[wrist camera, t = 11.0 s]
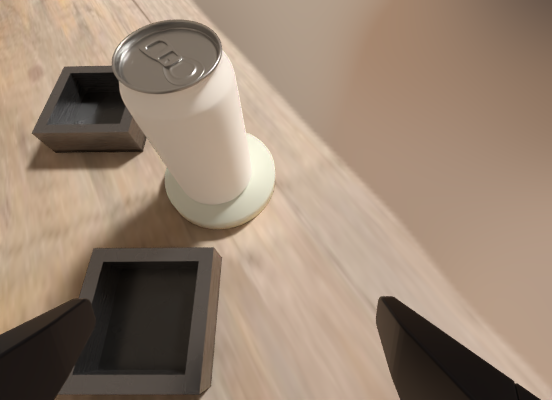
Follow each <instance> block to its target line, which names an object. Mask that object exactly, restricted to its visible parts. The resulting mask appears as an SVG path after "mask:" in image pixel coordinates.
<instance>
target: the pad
mask: <svg viewBox="0 0 552 400" xmlns="http://www.w3.org/2000/svg"><path fill="white" fill-rule="evenodd" d="M246 136H247V142H248V148H249V153H250V159H251V166H252V175H251V179H250V182H249V184H248V185H247V187H246V188H245V189H244V191H243V192H242V193H241V194H240V195H239V196H237V197H236V198H235V199H233V200H231V201H229V202H226V203H222V204H215V205H209V204H202V203H199V202H197V201H195V200H193V199H191V198H190V197H189V196H188V195H187V194H186V193H185V192H184V191H183V189H182V188H181V186H180V185H179V184H178V182H177V181H176V179H175V178H174V176H173V175H172V174H171V172H170V171H169V169H168V168H167V169H166V172H165V189H166V193H167V195H168V198H169V200H170V201H171V203H172V204H173V205H174V207H175V208H176V209H177V210H178V212H179V213H180V214H181V215H182V216H183V217H184V218H185V219H187V220H188V221H190V222H191V223H193V224H195V225H197V226H200V227H203V228H208V229H228V228H233V227H237V226H240V225H242V224H244V223H246V222H248V221H250V220H251V219H253V218H254V217H256V216H257V215H258V214H259V213H260V212H261V211H262V210H263V209H264V208H265V207H266V205H267V204H268V202H269V201H270V199H271V197H272V194H273V192H274V187H275V165H274V161H273V158H272V155H271V153H270V152H269V150H268V148H267V147H266V146H265V145H264V144H263V143H262V142H261V141H260V140H259V139H257V138H256V137H254V136H253V135H251V134H249V133H246Z"/></svg>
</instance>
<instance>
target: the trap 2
mask: <svg viewBox="0 0 552 400" xmlns="http://www.w3.org/2000/svg"><path fill="white" fill-rule="evenodd" d="M221 261H222V257H221V256H220V255H219V253H218V252H217V251H216V250H215V248H94V249H93V252H92V256H91V259H90V262H89V266H88V269H87V272H86V276H85V279H84V283H83V286H82V289H81V293H80V296H79V298H86V299H89V300H90V302H91V305H92V308H93V312H94V315H95V319H96V323H95V327H94V329H93V331H92V333H91V335H90V337H89V339H88V341H87V343H86V345H85V347H84V348H83V350H82V352H81V354H80V356H79V358H78V360H77V362H76V364H75V366H74V368H73V369H72V371H71V373H70V375H69V377H68V378H67V380H66V382H65V383H64V385H63V387H62V388H61V390H60V391H59V393H58V394H201V393H202V392H203V391H205V390H206V389H207V388H209V387H210V386H211V379H212V368H213V356H214V344H215V332H216V320H217V308H218V297H219V285H220V273H221Z"/></svg>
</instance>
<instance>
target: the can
mask: <svg viewBox="0 0 552 400" xmlns="http://www.w3.org/2000/svg"><path fill="white" fill-rule="evenodd" d="M112 69H113V72H114V74H115V76H116V78H117V79H118V80H119V89H120V94H121V98H122V100H123V102H124V104H125V106H126V107H127V109H128V110H129V112H130V114H131V115H132V117H133V118H134V120H135V121H136V123H137V124H138V126H139V127H140V128H141V130H142V131H143V133H144V134H145V136H146V137H147V139H148V140H149V142H150V143H151V145H152V146H153V148H154V149H155V150H156V152H157V153H158V155H159V156H160V158H161V159H162V161H163V162H164V163H165V165H166V166H167V168H168V169H169V171H170V172H171V174H172V175H173V176H174V178H175V179H176V181H177V182H178V184H179V185H180V186H181V188H182V189H183V191H184V192H185V193H186V194H187V195H188V196H189V197H190V198H191V199H193V200H195V201H197V202H199V203H202V204H209V205H215V204H222V203H226V202H229V201H231V200H233V199H235V198H236V197H237V196H239V195H240V194H241V193H242V192H243V191H244V189H245V188H246V187H247V185H248V184H249V182H250V179H251V175H252V166H251V159H250V153H249V148H248V142H247V136H246V131H245V125H244V120H243V114H242V109H241V103H240V98H239V92H238V87H237V82H236V77H235V73H234V69H233V66H232V63H231V61H230V60H229V58H228V56H227V55H226V54H225V52H224V51H223V50H222V45H221V41H220V39H219V37H218V36H217V34H216V33H215V32H214V31H213V30H211V29H210V28H209V27H207V26H205V25H203V24H201V23H198V22H194V21H189V20H166V21H160V22H156V23H152V24H149V25H146V26H144V27H142V28H140V29H138V30H136V31H134V32H133V33H131V34H130V35H128V36H127V37H126V38H125V39H124V40H123V41H122V42H121V43H120V44H119V45H118V47H117V48H116V50H115V52H114V54H113V57H112Z"/></svg>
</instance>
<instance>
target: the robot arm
mask: <svg viewBox="0 0 552 400" xmlns="http://www.w3.org/2000/svg"><path fill="white" fill-rule="evenodd" d="M95 323H96V319H95V315H94V312H93V308H92V305H91V302H90V300H89V299H86V298H77V299H72V300H70V301H68V302H66V303H64V304H62V305H60V306H58V307H56V308H54V309H52V310H50V311H48V312H46V313H44V314H42V315H40V316H38V317H35V318H33V319H31V320H29V321H27V322H25V323H23V324H21V325H19V326H17V327H15V328H13V329H11V330H9V331H7V332H5V333H3V334H1V335H0V400H54V399H55V398H56V396H57V395H58V393H59V391H60V390H61V388H62V387H63V385H64V383H65V382H66V380H67V378H68V377H69V375H70V373H71V371H72V369H73V368H74V366H75V364H76V362H77V360H78V358H79V356H80V354H81V352H82V350H83V348H84V347H85V345H86V343H87V341H88V339H89V337H90V335H91V333H92V331H93V329H94V327H95ZM376 325H377V329H378V332H379V336H380V339H381V343H382V346H383V350H384V353H385V357H386V360H387V364H388V367H389V370H390V374H391V377H392V379H393V382H394V385H395V387H396V390H397V392H398V395H399V397H400V400H541V399H539V398H538V397H536V396H535V395H533V394H532V393H530V392H529V391H528V390H526V389H525V388H523V387H522V386H520V385H519V384H517V383H516V384H515V383H514V381H513V380H512V379H510V378H509V377H507V376H506V375H505V374H503V373H502V372H500V371H499V370H497V369H496V368H495V367H493V366H492V365H490V364H489V363H487V362H486V361H485V360H483V359H482V358H480V357H479V356H477V355H476V354H475V353H473V352H472V351H470V350H469V349H467V348H466V347H465V346H463V345H462V344H460V343H459V342H458V341H456V340H455V339H453V338H452V337H450V336H449V335H448V334H446V333H445V332H443V331H442V330H440V329H439V328H438V327H436V326H435V325H433V324H432V323H430V322H429V321H428V320H426V319H425V318H423V317H422V316H420V315H419V314H418V313H416V312H415V311H413V310H412V309H410V308H409V307H408V306H406V305H405V304H403V303H402V302H400V301H399V300H398V299H396V298H395V297H392V296H381V297H380V298H379V300H378V306H377V314H376Z"/></svg>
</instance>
